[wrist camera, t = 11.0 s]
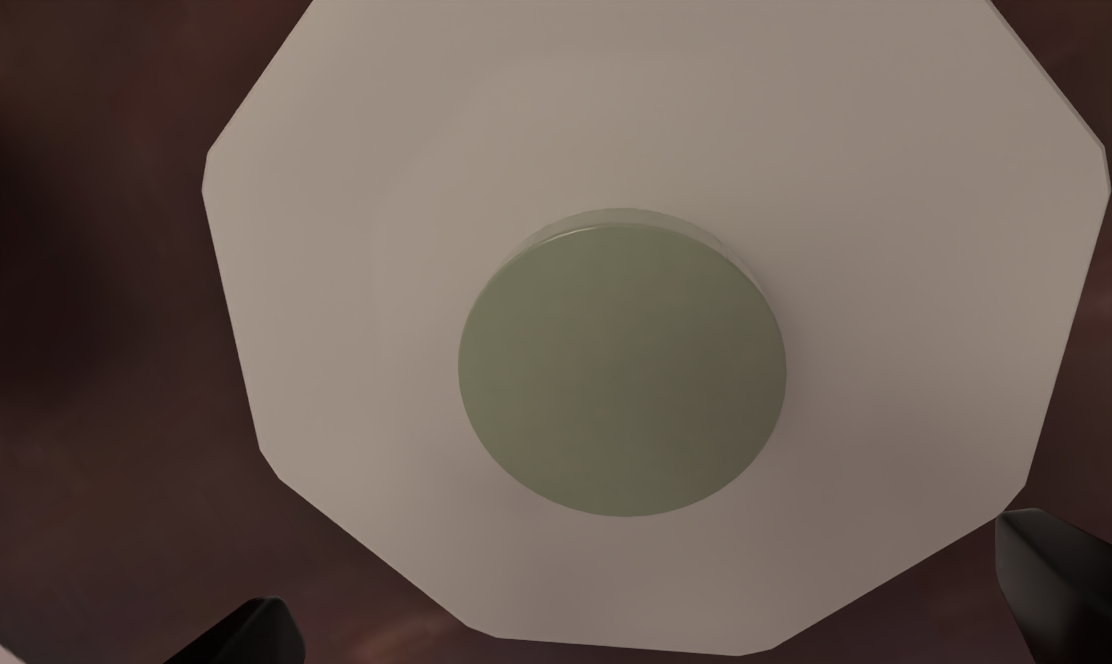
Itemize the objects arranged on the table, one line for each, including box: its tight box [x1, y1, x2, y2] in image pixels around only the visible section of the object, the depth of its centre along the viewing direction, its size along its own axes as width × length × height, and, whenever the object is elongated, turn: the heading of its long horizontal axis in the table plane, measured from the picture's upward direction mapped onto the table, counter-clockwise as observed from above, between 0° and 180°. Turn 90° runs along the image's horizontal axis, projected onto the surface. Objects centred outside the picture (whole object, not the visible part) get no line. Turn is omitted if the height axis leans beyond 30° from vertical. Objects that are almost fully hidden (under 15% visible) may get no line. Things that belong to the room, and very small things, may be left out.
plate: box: [202, 0, 1111, 656], centre depth 17 cm, size 20×20×2 cm
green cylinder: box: [458, 208, 787, 517], centre depth 15 cm, size 7×7×2 cm
